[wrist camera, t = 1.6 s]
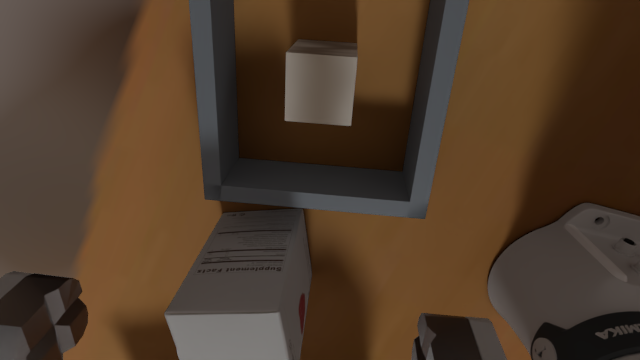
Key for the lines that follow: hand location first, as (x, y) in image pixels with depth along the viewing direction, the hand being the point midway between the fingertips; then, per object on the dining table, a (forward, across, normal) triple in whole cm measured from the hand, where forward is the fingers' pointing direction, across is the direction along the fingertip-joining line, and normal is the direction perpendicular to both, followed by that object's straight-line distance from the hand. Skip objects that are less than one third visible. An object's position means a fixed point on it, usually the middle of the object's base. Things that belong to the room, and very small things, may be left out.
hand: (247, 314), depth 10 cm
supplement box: (+29, +5, +19) cm, 35 cm away
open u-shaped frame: (+29, 0, +1) cm, 29 cm away
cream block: (+29, 0, 0) cm, 29 cm away
